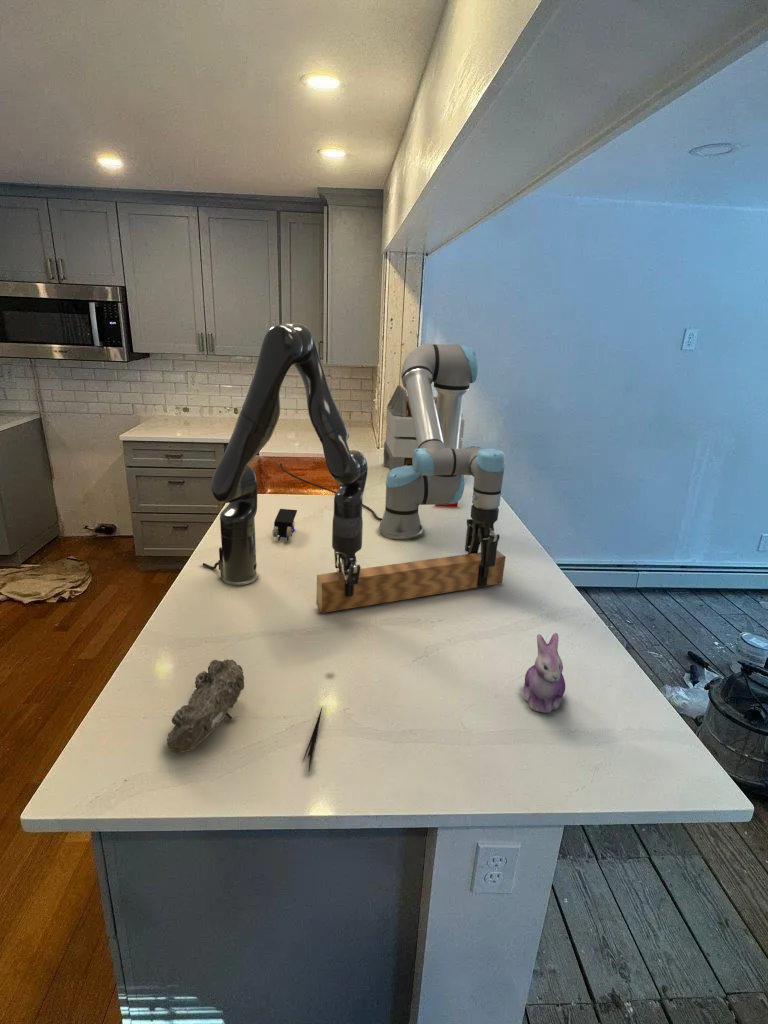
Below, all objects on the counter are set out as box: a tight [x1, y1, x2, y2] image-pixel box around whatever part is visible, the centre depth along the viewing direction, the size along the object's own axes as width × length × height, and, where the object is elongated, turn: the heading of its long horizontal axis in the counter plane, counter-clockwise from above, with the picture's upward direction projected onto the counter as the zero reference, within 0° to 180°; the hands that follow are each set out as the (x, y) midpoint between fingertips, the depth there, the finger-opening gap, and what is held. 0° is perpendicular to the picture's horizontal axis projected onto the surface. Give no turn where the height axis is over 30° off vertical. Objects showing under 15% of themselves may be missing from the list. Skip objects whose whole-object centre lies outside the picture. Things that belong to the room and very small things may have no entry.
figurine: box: [523, 632, 566, 714], centre depth 114 cm, size 9×10×15 cm
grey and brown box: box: [383, 384, 465, 471], centre depth 268 cm, size 34×33×41 cm
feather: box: [301, 673, 332, 771], centre depth 108 cm, size 2×28×2 cm
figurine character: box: [272, 508, 298, 542], centre depth 192 cm, size 7×8×15 cm
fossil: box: [166, 658, 245, 754], centre depth 106 cm, size 22×10×15 cm
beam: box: [316, 550, 506, 614], centre depth 155 cm, size 54×5×9 cm, turn 113°
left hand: (345, 590), depth 148 cm, fingers closed on beam, 4 cm apart
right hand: (476, 581), depth 164 cm, fingers closed on beam, 5 cm apart
